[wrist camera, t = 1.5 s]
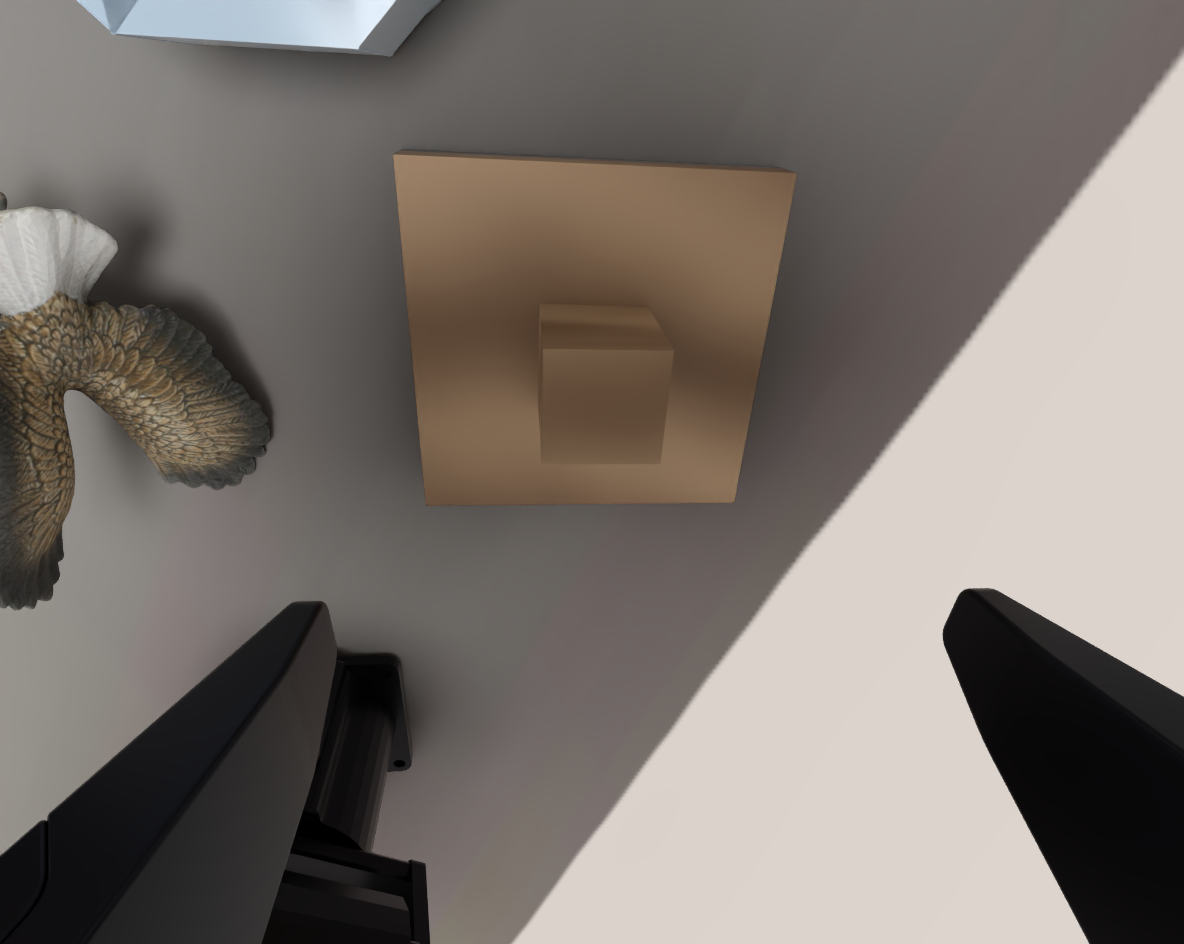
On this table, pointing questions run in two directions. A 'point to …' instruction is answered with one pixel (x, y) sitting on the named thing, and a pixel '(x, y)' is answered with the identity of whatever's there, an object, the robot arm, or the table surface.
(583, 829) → the table surface
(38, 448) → the eagle figurine
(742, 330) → the lid
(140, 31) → the bowl
